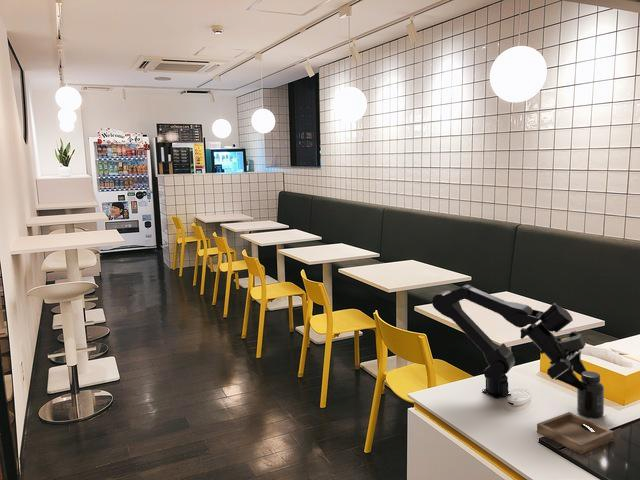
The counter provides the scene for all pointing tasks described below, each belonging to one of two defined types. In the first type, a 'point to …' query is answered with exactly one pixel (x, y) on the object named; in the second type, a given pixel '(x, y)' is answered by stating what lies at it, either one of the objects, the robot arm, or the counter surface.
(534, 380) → the counter surface
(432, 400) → the counter surface
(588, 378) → the supplement bottle
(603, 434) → the walnut tray
